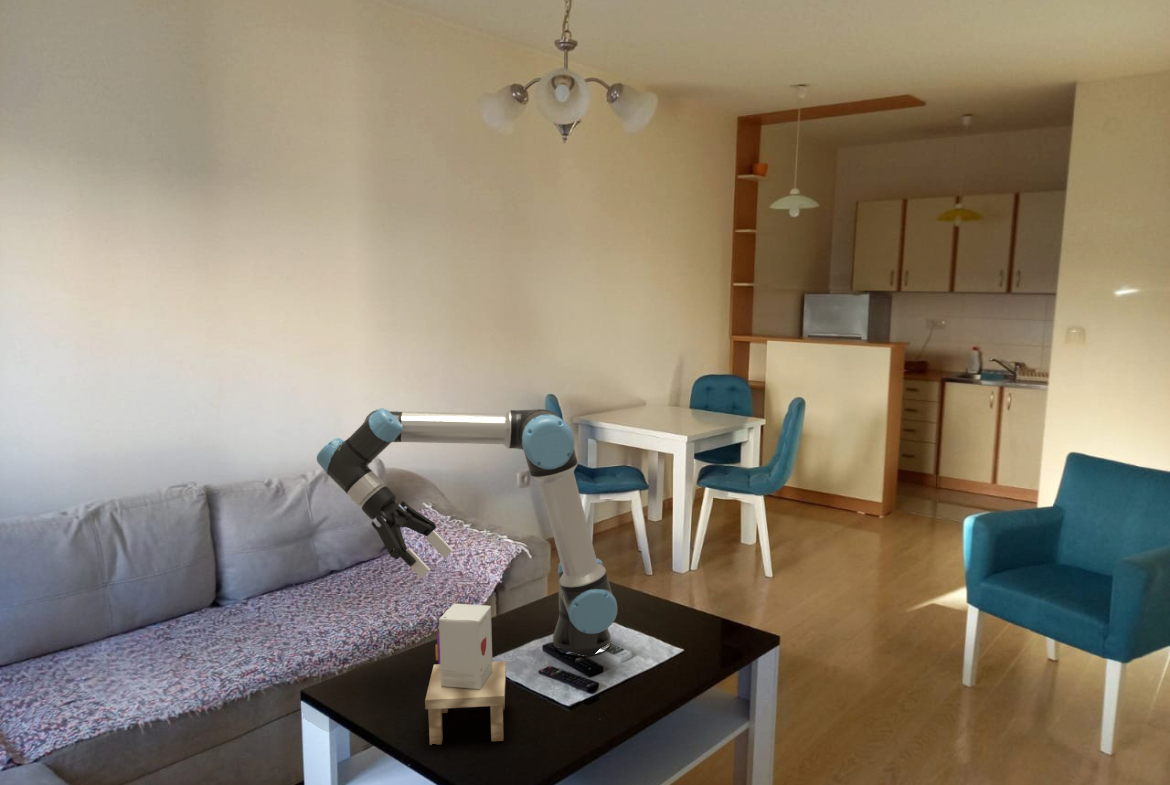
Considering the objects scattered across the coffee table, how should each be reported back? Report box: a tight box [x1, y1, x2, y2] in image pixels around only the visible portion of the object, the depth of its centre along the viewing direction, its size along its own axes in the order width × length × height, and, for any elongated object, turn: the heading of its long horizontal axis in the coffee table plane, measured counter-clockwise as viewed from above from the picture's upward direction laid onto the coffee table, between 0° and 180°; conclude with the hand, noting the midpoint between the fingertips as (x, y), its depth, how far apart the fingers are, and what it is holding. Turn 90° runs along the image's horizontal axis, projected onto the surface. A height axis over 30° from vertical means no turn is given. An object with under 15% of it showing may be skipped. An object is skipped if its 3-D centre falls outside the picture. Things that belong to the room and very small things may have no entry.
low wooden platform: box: [424, 660, 507, 746], centre depth 173 cm, size 16×16×10 cm
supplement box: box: [438, 603, 493, 689], centre depth 172 cm, size 9×9×15 cm
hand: (437, 563), depth 181 cm, fingers open, 13 cm apart
